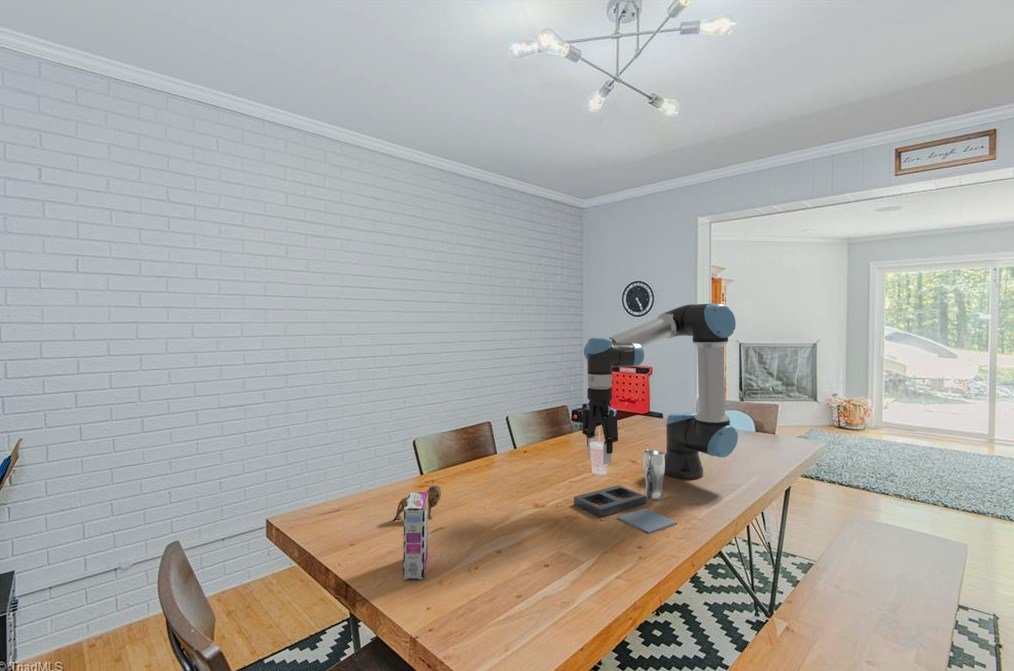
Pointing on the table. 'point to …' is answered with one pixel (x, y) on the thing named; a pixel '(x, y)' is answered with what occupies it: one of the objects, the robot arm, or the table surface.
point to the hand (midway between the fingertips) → (599, 460)
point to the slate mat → (647, 520)
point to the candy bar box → (415, 536)
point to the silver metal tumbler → (654, 473)
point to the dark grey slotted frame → (609, 500)
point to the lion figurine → (433, 499)
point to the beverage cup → (598, 457)
